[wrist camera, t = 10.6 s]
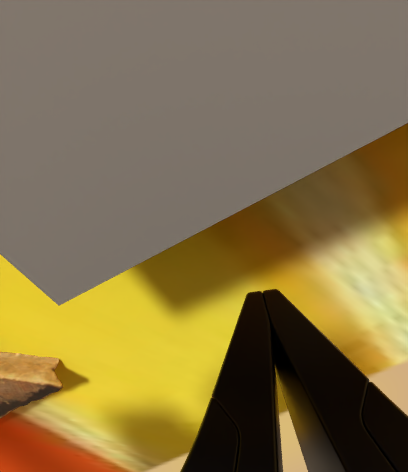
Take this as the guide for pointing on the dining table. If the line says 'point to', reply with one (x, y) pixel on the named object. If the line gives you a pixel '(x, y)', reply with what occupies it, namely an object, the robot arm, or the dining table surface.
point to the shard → (25, 380)
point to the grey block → (176, 118)
